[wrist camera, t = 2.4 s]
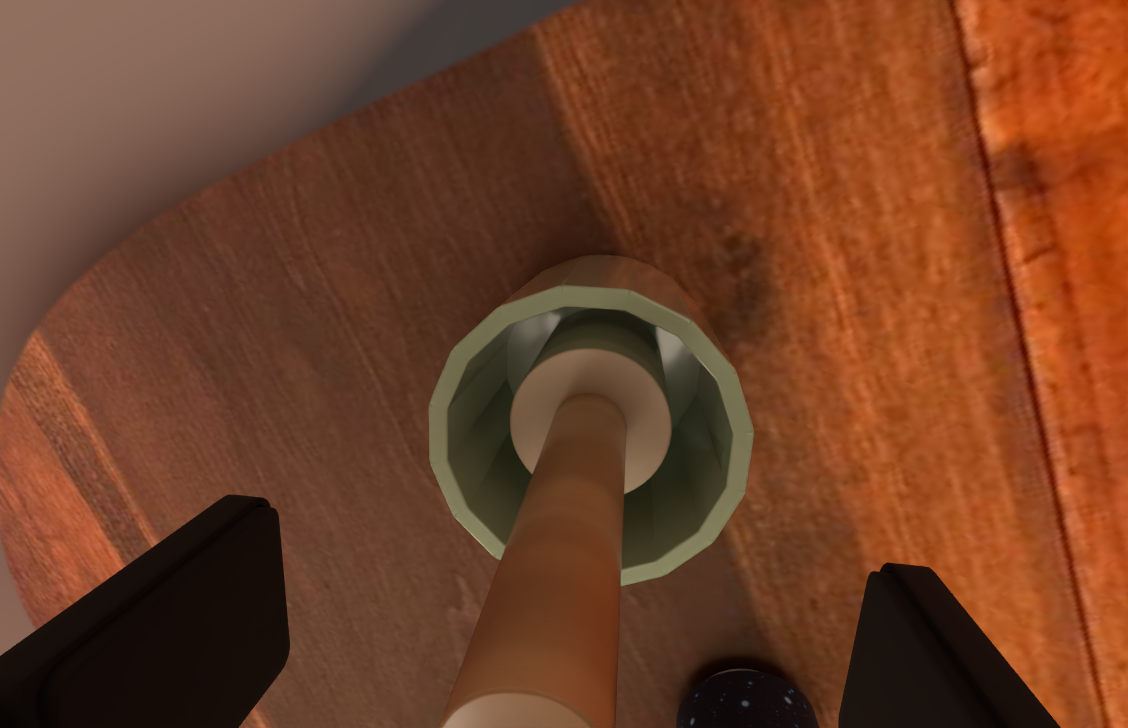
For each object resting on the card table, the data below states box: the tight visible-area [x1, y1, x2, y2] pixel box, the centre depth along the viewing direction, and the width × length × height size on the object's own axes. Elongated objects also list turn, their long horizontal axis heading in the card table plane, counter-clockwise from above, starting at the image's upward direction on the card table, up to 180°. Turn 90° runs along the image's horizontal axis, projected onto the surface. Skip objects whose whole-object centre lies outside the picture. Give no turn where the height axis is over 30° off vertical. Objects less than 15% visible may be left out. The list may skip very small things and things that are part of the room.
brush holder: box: [429, 255, 754, 586], centre depth 19 cm, size 8×8×8 cm
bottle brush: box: [439, 308, 672, 728], centre depth 14 cm, size 4×4×16 cm
